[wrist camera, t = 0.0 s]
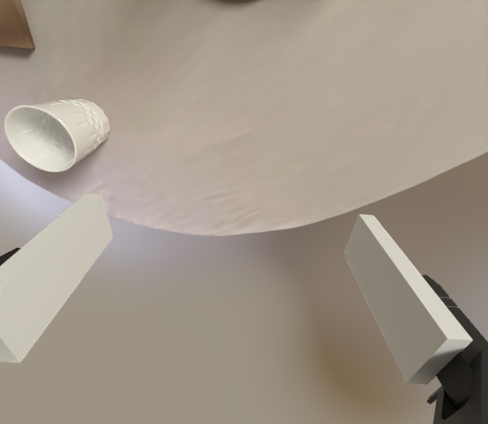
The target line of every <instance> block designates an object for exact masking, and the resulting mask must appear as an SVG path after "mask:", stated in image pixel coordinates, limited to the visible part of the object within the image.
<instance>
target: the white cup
mask: <svg viewBox="0 0 488 424" xmlns="http://www.w3.org/2000/svg"><path fill="white" fill-rule="evenodd" d="M4 130H5V134H6V137H7V139H8V141H9V143H10V145H11V146H12V148H13V149H14V150H15V152H16V153H17V154H18V155H19V156H20V157H21V158H22V159H24V160H25V161H26V162H28V163H29V164H31V165H32V166H34V167H36V168H38V169H41V170H44V171H48V172H62V171H65V170H67V169H69V168H70V167H72V166H73V165H74V164H76V163H77V162H79V161H80V160H81V159H83V158H84V157H85V156H87V155H88V154H90V153H91V152H92V151H93V150H95V149H96V148H97V147H98V146H99V145H100V144H101V143H102V142H104V141H105V140H106V139H107V138H108V135H109V132H110V126H109V120H108V118H107V117H106V115H105V113H104V112H103V110H102V109H101V108H99V107H98V106H97V105H96V104H94V103H93V102H91V101H88V100H85V99H82V98H80V99H72V100H55V101H49V102H42V103H35V104H29V105H22V106H17V107H15V108H13V109H11V110H10V111H9V112H8V113H7V115H6V117H5V121H4Z"/></svg>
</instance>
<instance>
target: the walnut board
mask: <svg viewBox="0 0 488 424" xmlns="http://www.w3.org/2000/svg"><path fill="white" fill-rule="evenodd" d="M0 46H8V47H18V48H32V49H35V46H34V43H33V39H32V36H31V33H30V30H29V27H28V23H27V20H26V17H25V14H24V10H23V7H22V4H21V1H20V0H0Z"/></svg>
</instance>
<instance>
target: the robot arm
mask: <svg viewBox="0 0 488 424" xmlns="http://www.w3.org/2000/svg"><path fill="white" fill-rule="evenodd" d="M112 238H113V236H112V232H111V228H110V224H109V220H108V216H107V212H106V208H105V205H104V201H103V197H102V194H91V193H86V194H85V195H83V196H82V197H81V198H80V199H79V200H78V201H76V202H75V203H74V204H73V205H72V206H71V207H69V208H68V209H67V210H66V211H65V212H64V213H62V214H61V215H60V216H59V217H58V218H56V219H55V220H54V221H53V222H52V223H50V225H48V226H47V227H46V228H45V229H43V230H42V231H41V232H40V233H39V234H38V235H37V236H35V237H34V238H33V239H32V240H31V241H29V242H28V243H27V244H26V245H25V246H23V247H22V248H16V249H14V250H12V251H10V252H8V253H6V254H4V255H2V256H0V362H13V363H21V361H22V360H23V359H24V357H25V356H26V355H27V353H28V352H29V350H30V349H31V348H32V346H33V345H34V344H35V342H36V341H37V340H38V338H39V337H40V336H41V334H42V333H43V332H44V330H45V329H46V327H47V326H48V325H49V323H50V322H51V321H52V319H53V318H54V317H55V315H56V314H57V313H58V311H59V310H60V309H61V307H62V306H63V304H64V303H65V302H66V301H67V299H68V298H69V296H70V295H71V293H72V292H73V291H74V289H75V288H76V287H77V285H78V284H79V283H80V282H81V280H82V279H83V278H84V276H85V275H86V273H87V272H88V271H89V269H90V268H91V267H92V265H93V264H94V263H95V261H96V260H97V258H98V257H99V256H100V255H101V253H102V252H103V251H104V249H105V248H106V247H107V245H108V244H109V242H110V241H111V240H112ZM343 255H344V257H345V259H346V260H347V263H348V265H349V267H350V269H351V271H352V273H353V275H354V277H355V279H356V281H357V283H358V285H359V288H360V289H361V292H362V294H363V296H364V298H365V300H366V302H367V304H368V306H369V308H370V310H371V312H372V314H373V316H374V318H375V320H376V322H377V324H378V327H379V329H380V331H381V333H382V335H383V337H384V339H385V341H386V343H387V345H388V347H389V349H390V351H391V353H392V355H393V357H394V359H395V362H396V363H397V366H398V367H399V369H400V372H401V374H402V376H403V378H404V380H405V382H406V383H413V384H428V383H429V382H430V381H431V380H432V379H433V378H434V377H435V376H437V378H438V379H439V381H440V383H441V384H442V386H441V387H440V388H439V389H438V390H437V391H436V392H434V393H433V394H432V395H431V396H430V397H429V399H428V400H427V402H428V403H429V404H431V403H432V402H434V401H435V400H436V399H437V401H436V408H435V415H434V422H433V424H488V342H487V341H486V340H485V338H484V337H483V336H482V335H481V334H480V332H479V331H478V330H477V329H476V328H475V327H474V325H473V324H472V323H471V322H470V321H469V319H468V318H467V317H466V316H465V315H464V313H463V312H462V311H461V310H460V309H459V308H457V305H456V304H455V303H454V302H453V301H452V299H449V296H448V294H447V293H446V292H445V291H444V290H443V289H442V287H441V286H440V285H439V284H437V283H436V282H435V281H434V280H432V279H431V278H430V277H428V276H427V275H421V274H420V273H419V272H418V271H417V269H416V268H415V267H414V266H413V264H412V263H411V262H410V260H409V259H408V258H407V257H406V255H405V254H404V253H403V252H402V251H401V249H400V248H399V247H398V245H397V244H396V243H395V242H394V241H393V239H392V238H391V237H390V235H389V234H388V233H387V232H386V230H385V229H384V228H383V227H382V225H381V224H380V223H379V222H378V220H377V219H376V218H375V217H374V216H373V215H361V214H359V216H358V218H357V221H356V224H355V226H354V228H353V231H352V233H351V236H350V238H349V241H348V243H347V246H346V248H345V251H344V253H343Z"/></svg>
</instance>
